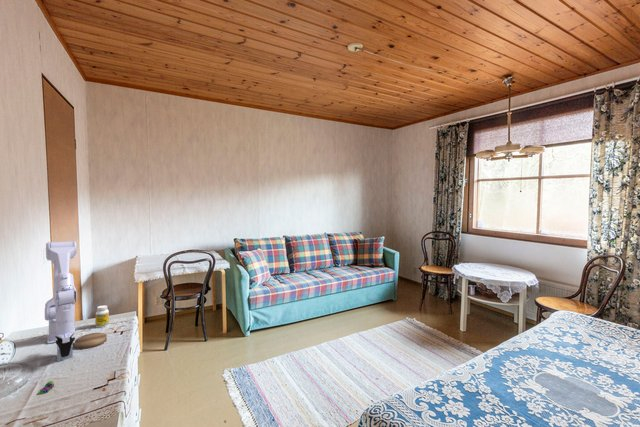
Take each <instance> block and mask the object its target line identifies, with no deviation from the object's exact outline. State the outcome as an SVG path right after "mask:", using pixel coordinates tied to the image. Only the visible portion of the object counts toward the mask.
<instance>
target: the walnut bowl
mask: <svg viewBox="0 0 640 427" xmlns="http://www.w3.org/2000/svg"><path fill="white" fill-rule="evenodd" d="M104 342H105V343H106V342H107V333H104V332H93V333H88V334H85V335H81V336H78V338H75V340H74V348H75V349H79V350H87V349H88V350H89V349H93V348H96V347H99V346H101V345H104Z"/></svg>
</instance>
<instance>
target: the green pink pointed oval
mask: <svg viewBox="0 0 640 427" xmlns="http://www.w3.org/2000/svg"><path fill="white" fill-rule="evenodd" d="M54 387H55V383H54V381H52V380H50V381H48V382H47V383H46V384H45V385H44V386H43V387H42V388H41V389H40V391H39V392H38V393H37V394H36V396H40V395H44V394H46V393H47V394H48V393H49V392H50V391H51V390H52V389H53V388H54Z"/></svg>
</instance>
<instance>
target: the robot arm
mask: <svg viewBox="0 0 640 427" xmlns="http://www.w3.org/2000/svg"><path fill="white" fill-rule="evenodd" d="M77 245H78V244H77V242H76V241H75V240H71V241H48V242H46V243H45V258H46V260H47V261H51V262H52V263H53V297H52V298H51V299H49V300H47V301H46V303H45V305H44V320H46V321H48V334H47V336H46V339H47V340H46V342H47V344H54V343H55V344H56V345H57V346H58V347H59V349H60V354H61V357H66V356H69V353H70V349H71V346H72V345H73V343H75V340H76V337H75V336H74V337H73V335H74V333H75V332H76V328H75V323H76V321H75V320H76V318H75V317H76V303H77V300H78V293H77V289H76V286H75V281H74V279H75V278H74V274H73V273H70V261H71V259H74V258H75V256H76V254H77V250H78V249H77V248H78V246H77Z"/></svg>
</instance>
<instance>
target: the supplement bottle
mask: <svg viewBox="0 0 640 427" xmlns="http://www.w3.org/2000/svg"><path fill="white" fill-rule="evenodd" d="M109 310H110V309H108V305H99V306H97V309H96V312H95V327H96V328H105V327H107V326H108V325H109V324H110V311H109ZM104 326H105V327H104Z"/></svg>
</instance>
